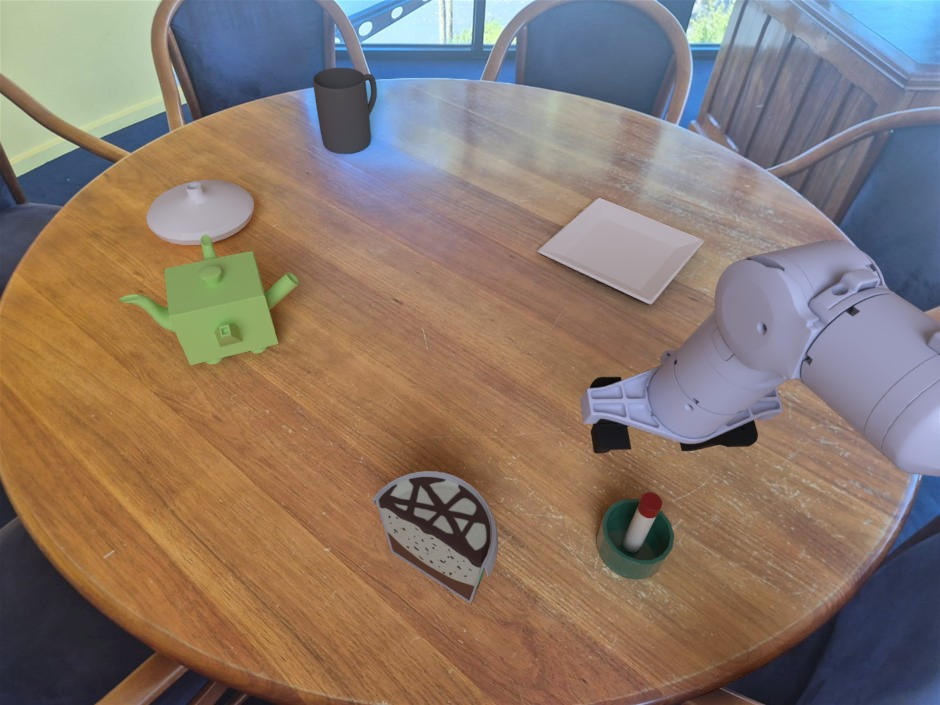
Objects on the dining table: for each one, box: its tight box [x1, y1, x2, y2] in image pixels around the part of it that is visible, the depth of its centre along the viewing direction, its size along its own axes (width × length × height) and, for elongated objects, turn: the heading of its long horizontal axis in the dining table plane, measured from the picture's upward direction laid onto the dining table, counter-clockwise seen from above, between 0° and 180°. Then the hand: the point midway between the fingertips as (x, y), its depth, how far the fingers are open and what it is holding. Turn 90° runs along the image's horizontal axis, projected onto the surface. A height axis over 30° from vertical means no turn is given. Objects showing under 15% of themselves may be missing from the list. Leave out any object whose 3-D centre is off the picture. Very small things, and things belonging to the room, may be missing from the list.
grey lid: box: [145, 179, 255, 246], centre depth 95 cm, size 16×16×7 cm
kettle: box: [118, 235, 300, 366], centre depth 77 cm, size 15×14×11 cm
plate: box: [537, 197, 705, 306], centre depth 94 cm, size 19×19×2 cm
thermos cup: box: [596, 498, 676, 580], centre depth 61 cm, size 7×7×4 cm
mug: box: [312, 67, 378, 155], centre depth 113 cm, size 14×9×12 cm
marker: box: [623, 491, 663, 552], centre depth 59 cm, size 2×2×8 cm
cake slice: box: [371, 470, 499, 605], centre depth 58 cm, size 12×6×10 cm, turn 58°
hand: (639, 440), depth 52 cm, fingers open, 7 cm apart
